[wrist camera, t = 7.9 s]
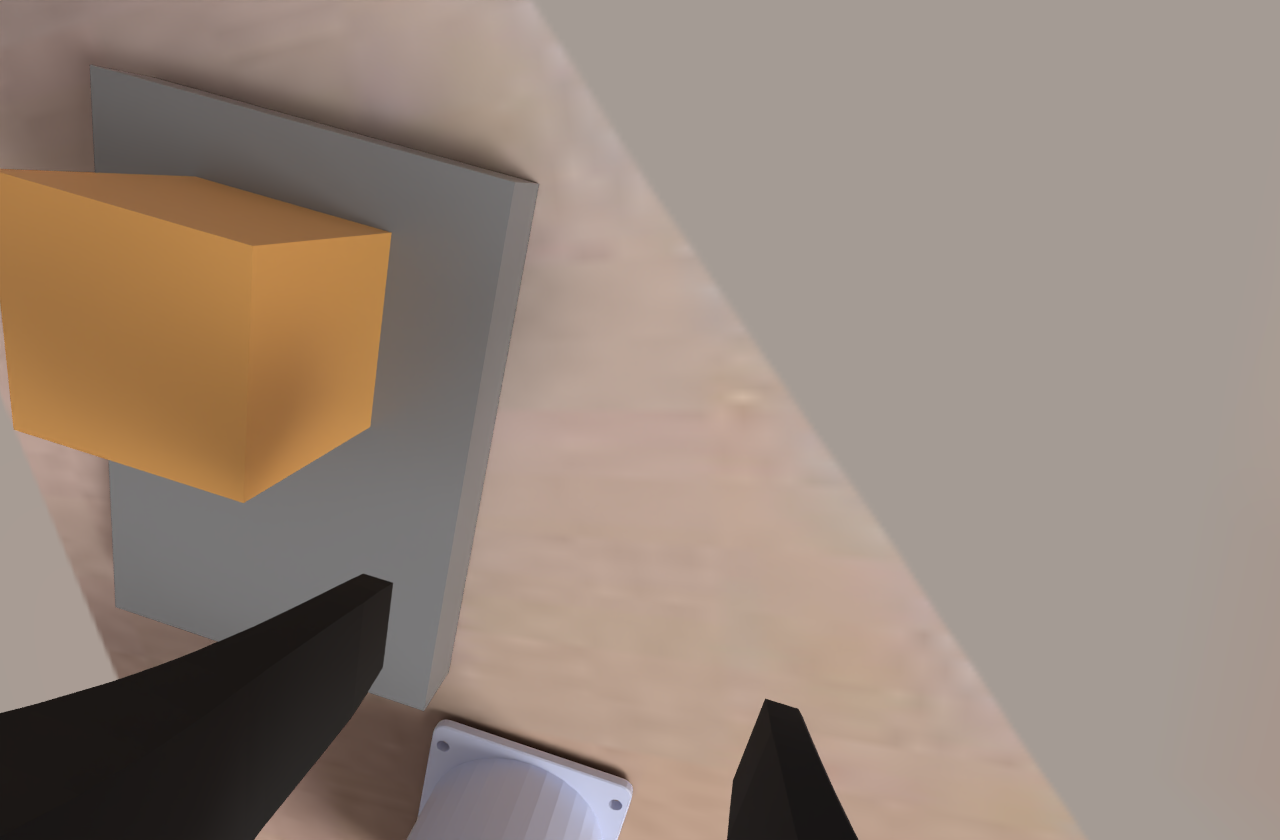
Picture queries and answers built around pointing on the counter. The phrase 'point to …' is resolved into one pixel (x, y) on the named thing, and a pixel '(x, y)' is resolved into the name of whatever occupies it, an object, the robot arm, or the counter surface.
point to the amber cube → (187, 324)
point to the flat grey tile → (403, 395)
